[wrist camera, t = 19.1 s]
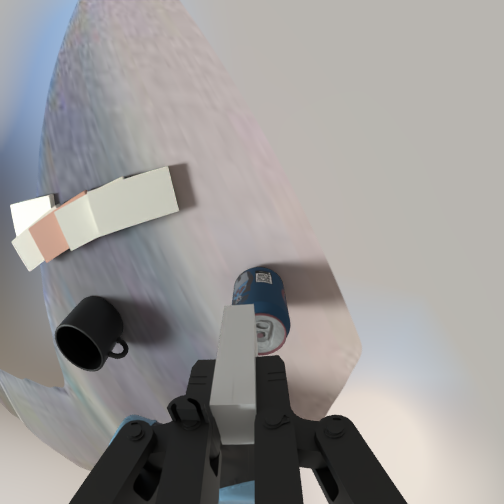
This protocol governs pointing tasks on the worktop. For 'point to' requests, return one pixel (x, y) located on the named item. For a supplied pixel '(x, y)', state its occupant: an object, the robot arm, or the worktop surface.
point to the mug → (91, 334)
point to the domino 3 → (51, 233)
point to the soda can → (264, 306)
